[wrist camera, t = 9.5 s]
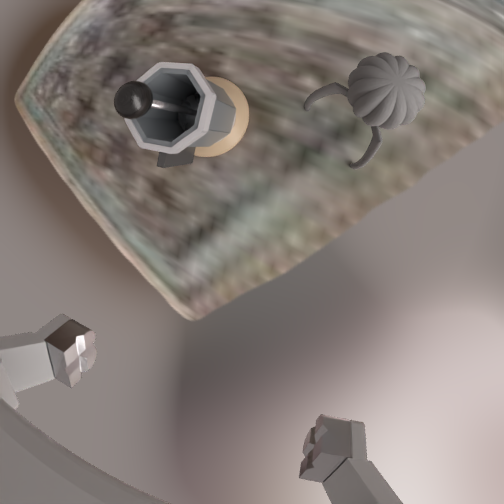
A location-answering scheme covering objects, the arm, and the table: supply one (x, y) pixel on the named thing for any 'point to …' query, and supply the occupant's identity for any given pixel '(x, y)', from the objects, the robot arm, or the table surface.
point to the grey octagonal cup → (207, 119)
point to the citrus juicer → (379, 96)
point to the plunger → (153, 104)
